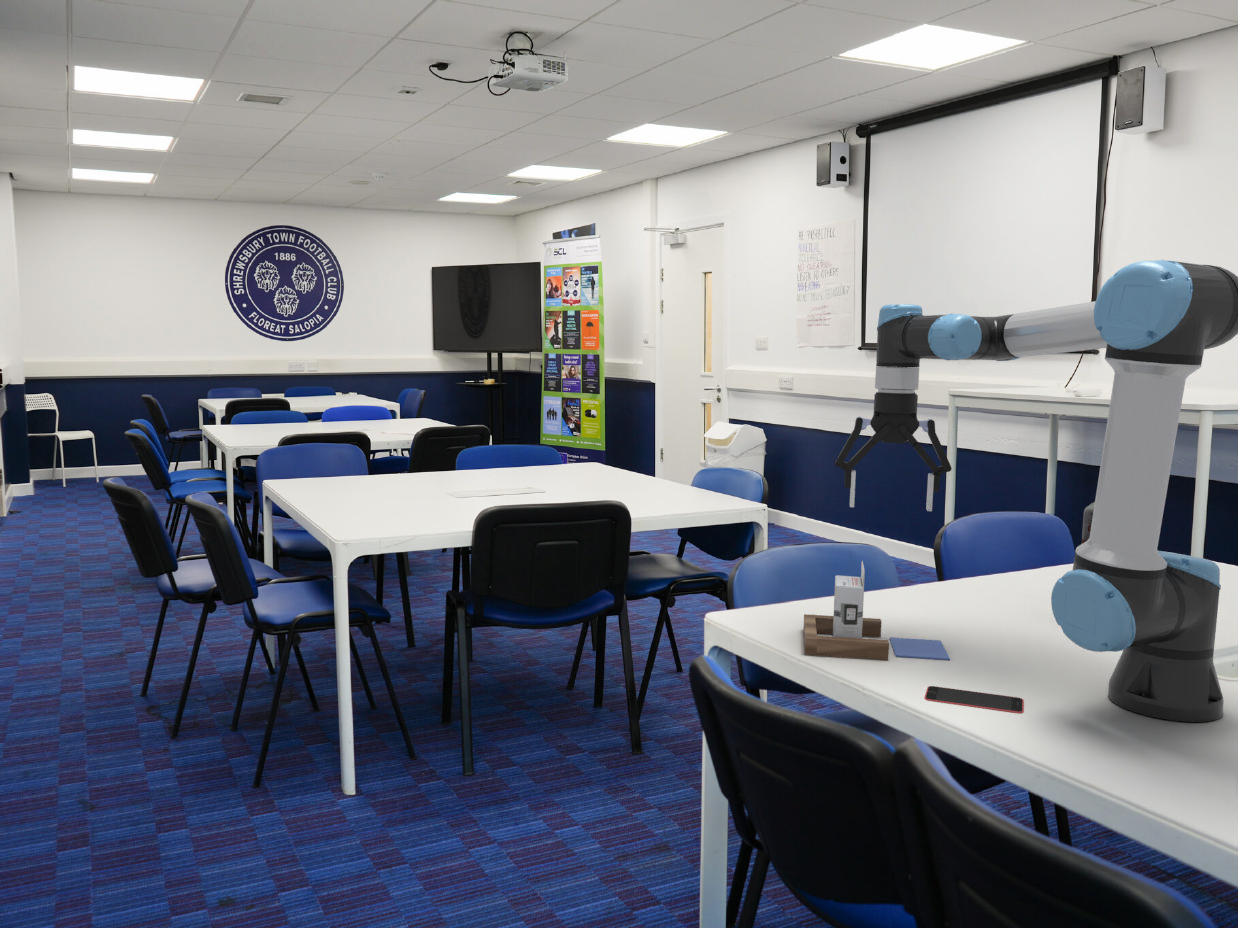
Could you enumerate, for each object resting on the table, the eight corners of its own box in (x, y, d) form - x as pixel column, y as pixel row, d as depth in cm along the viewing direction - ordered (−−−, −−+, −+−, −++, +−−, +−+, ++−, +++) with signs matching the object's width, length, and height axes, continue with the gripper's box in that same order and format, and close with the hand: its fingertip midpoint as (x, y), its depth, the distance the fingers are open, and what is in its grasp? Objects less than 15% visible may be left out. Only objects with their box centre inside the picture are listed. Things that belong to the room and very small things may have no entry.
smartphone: (927, 684, 154) (1023, 697, 149) (927, 688, 154) (1023, 701, 149) (923, 698, 147) (1023, 712, 142) (923, 702, 148) (1023, 716, 142)
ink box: (832, 637, 180) (835, 558, 178) (859, 639, 179) (863, 559, 177) (832, 650, 172) (836, 568, 170) (861, 652, 171) (865, 569, 169)
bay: (888, 660, 167) (889, 643, 166) (804, 654, 169) (805, 638, 169) (879, 634, 182) (880, 618, 182) (803, 629, 185) (804, 614, 184)
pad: (950, 660, 167) (950, 658, 167) (895, 656, 169) (895, 654, 169) (940, 641, 178) (940, 640, 178) (889, 638, 179) (889, 637, 179)
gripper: (966, 392, 177) (959, 508, 179) (825, 388, 182) (820, 501, 184) (972, 394, 169) (964, 515, 172) (825, 390, 175) (820, 507, 177)
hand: (890, 508), depth 178 cm, fingers open, 13 cm apart
